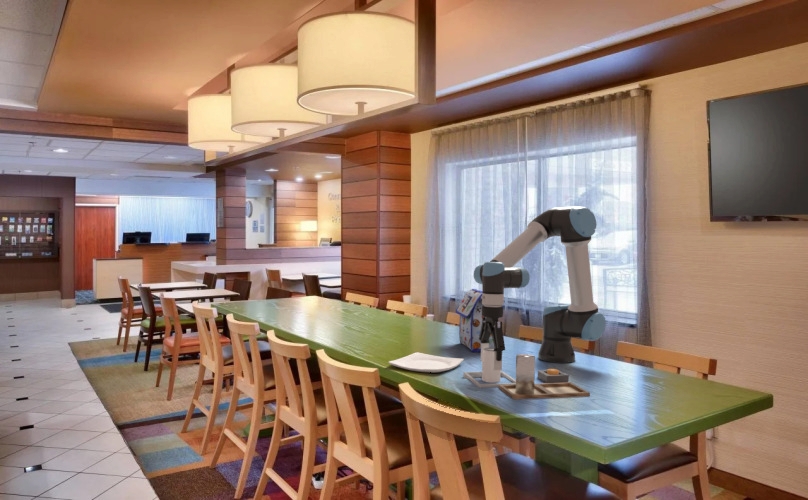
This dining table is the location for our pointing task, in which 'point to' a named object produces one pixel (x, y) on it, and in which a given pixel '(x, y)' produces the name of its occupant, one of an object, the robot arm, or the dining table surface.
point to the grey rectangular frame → (479, 374)
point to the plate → (426, 363)
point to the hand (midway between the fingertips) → (490, 365)
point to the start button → (552, 371)
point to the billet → (525, 374)
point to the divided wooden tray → (547, 391)
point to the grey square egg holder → (553, 377)
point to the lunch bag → (471, 320)
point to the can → (489, 366)
